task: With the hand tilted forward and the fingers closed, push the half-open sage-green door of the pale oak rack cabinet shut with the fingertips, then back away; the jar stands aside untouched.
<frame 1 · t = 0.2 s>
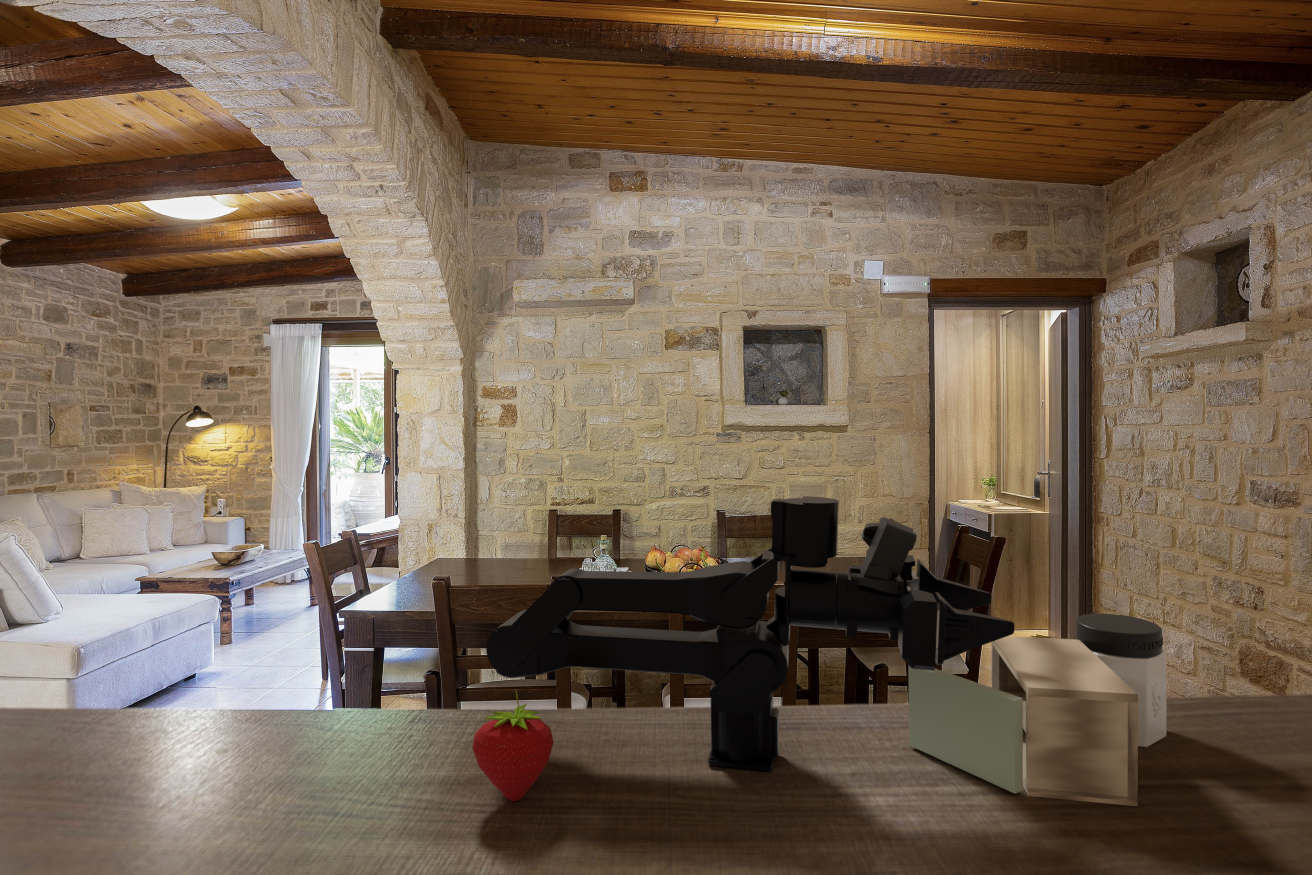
hand: (1001, 612, 71), 16 cm above the counter, tool horizontal, fingers open, 9 cm apart
strawberry: (514, 801, 69), on the counter
jar: (1117, 731, 81), on the counter
door: (961, 723, 73), point 5 cm above the counter, hinge at 45.0°
cabinet: (1018, 794, 68), on the counter
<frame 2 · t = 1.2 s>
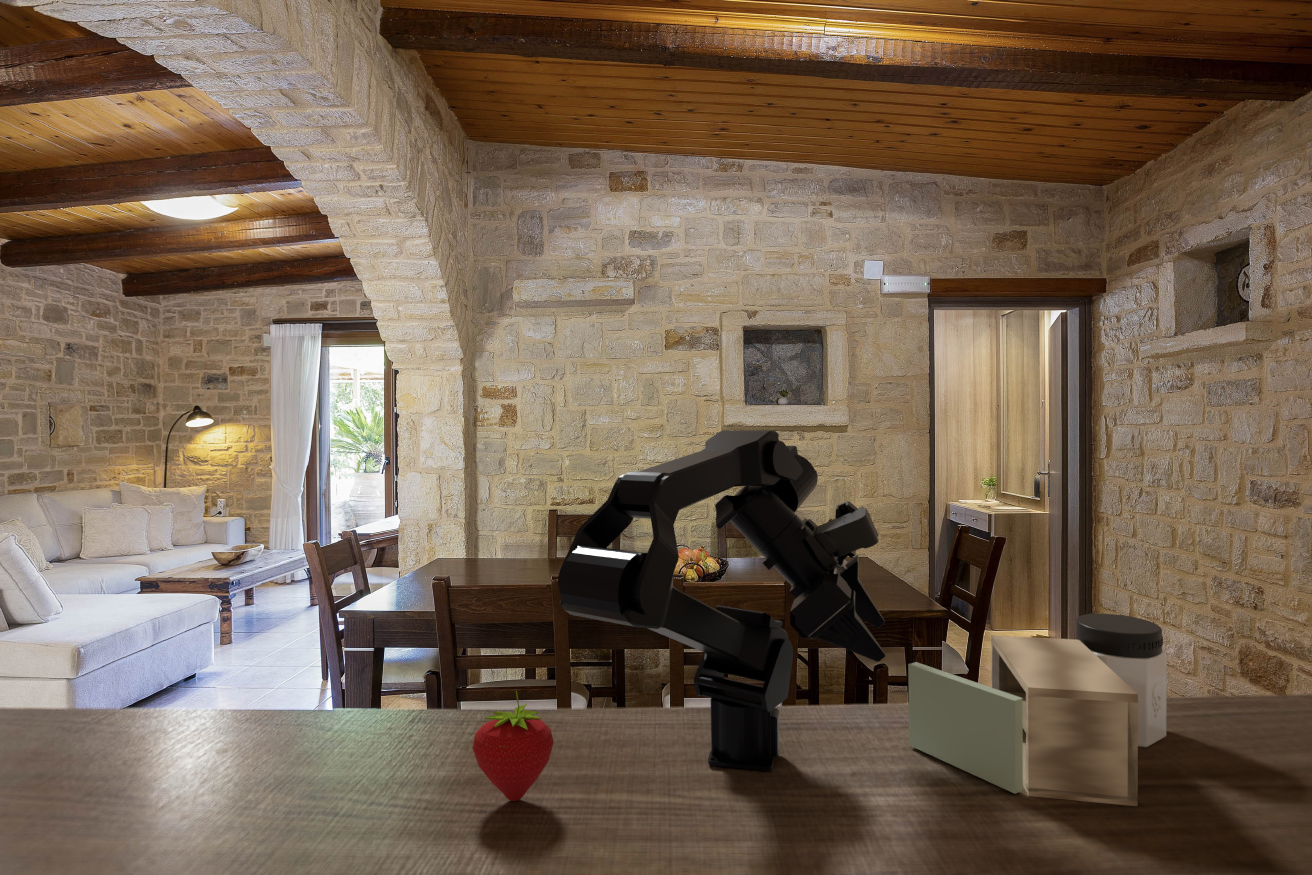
hand: (881, 640, 78), 12 cm above the counter, tool tilted 45°, fingers open, 9 cm apart
nothing on the counter moved.
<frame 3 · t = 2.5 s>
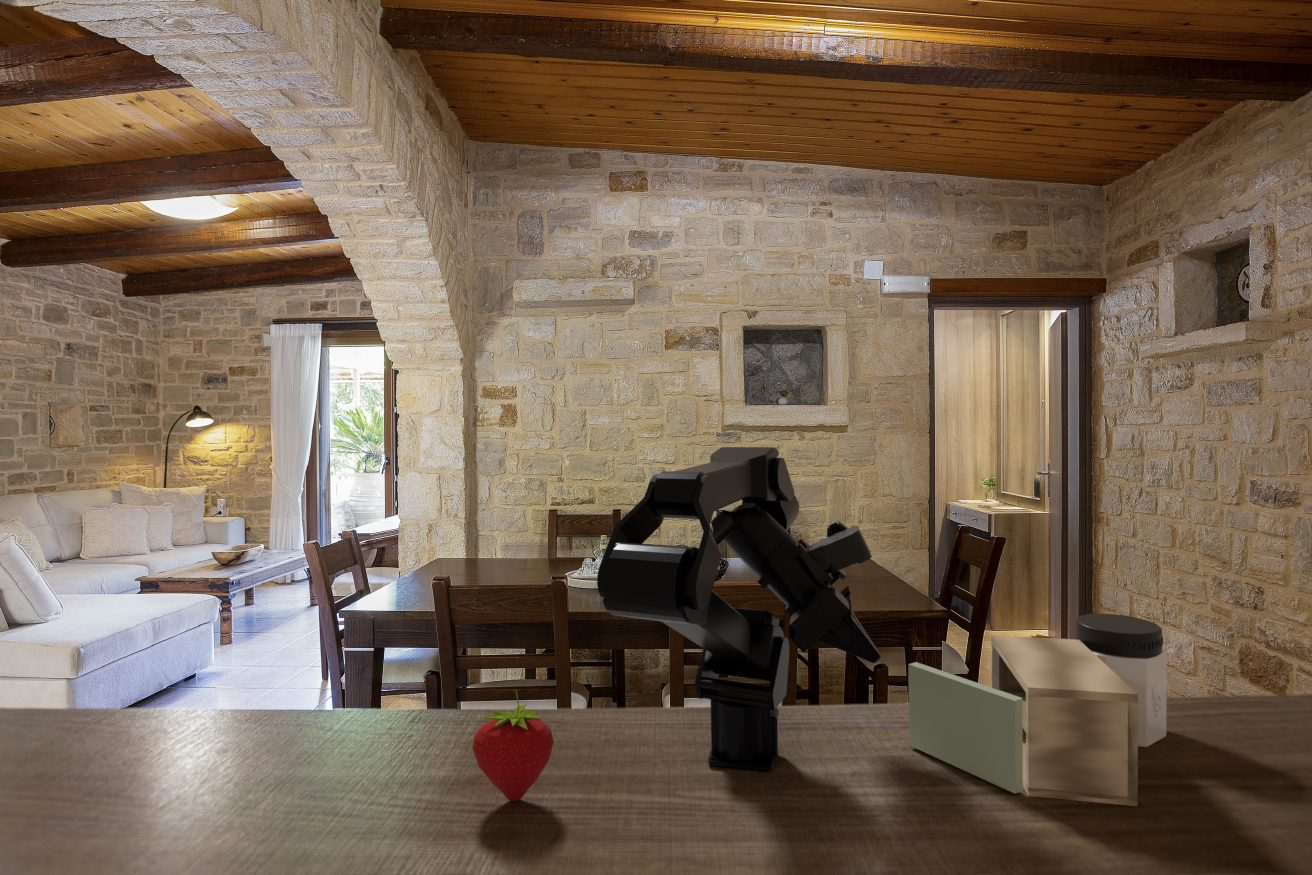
hand: (877, 659, 78), 10 cm above the counter, tool tilted 45°, fingers closed
nothing on the counter moved.
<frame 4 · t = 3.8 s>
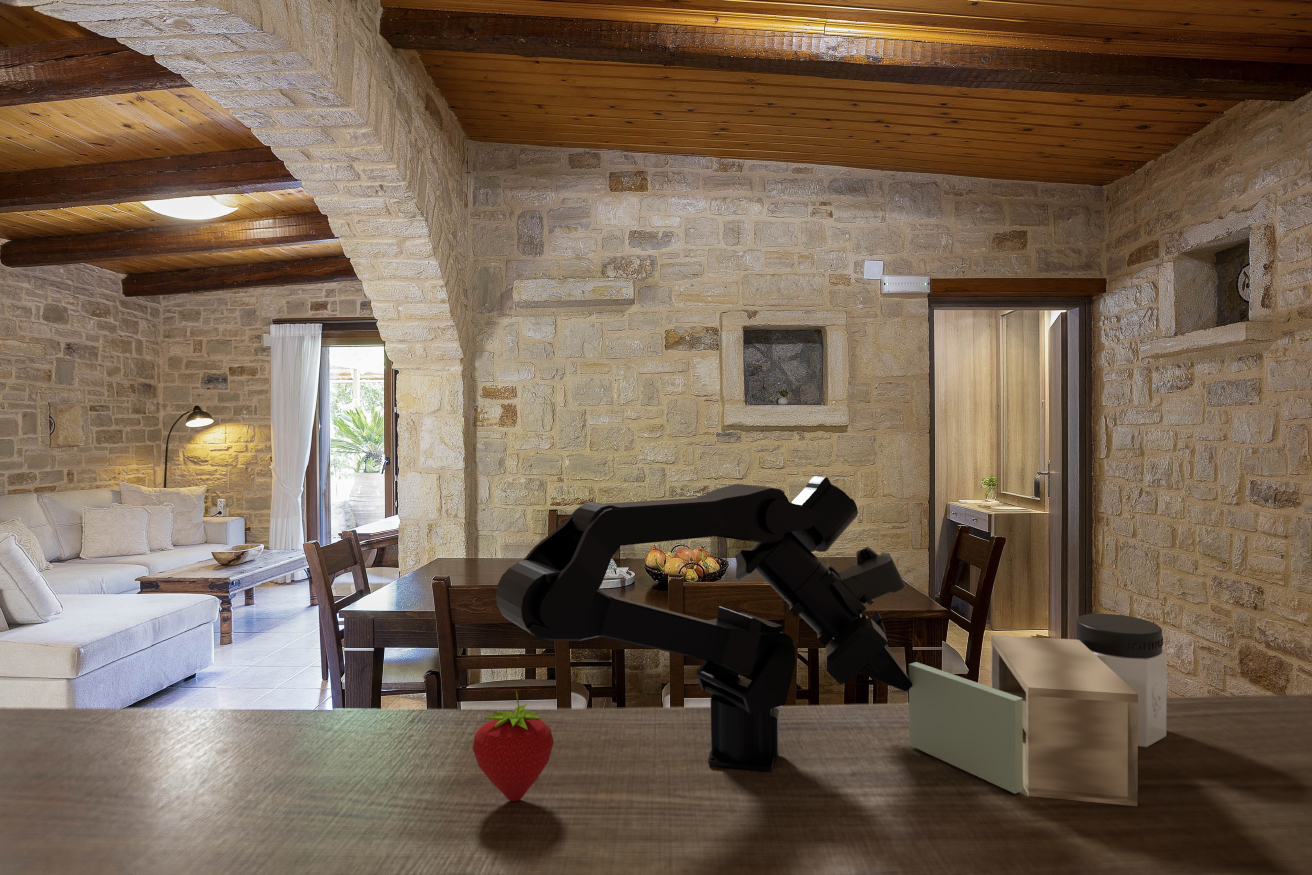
hand: (909, 687, 77), 7 cm above the counter, tool tilted 45°, fingers closed
door: (962, 722, 73), point 5 cm above the counter, hinge at 44.7°, touching gripper
everything else where it was.
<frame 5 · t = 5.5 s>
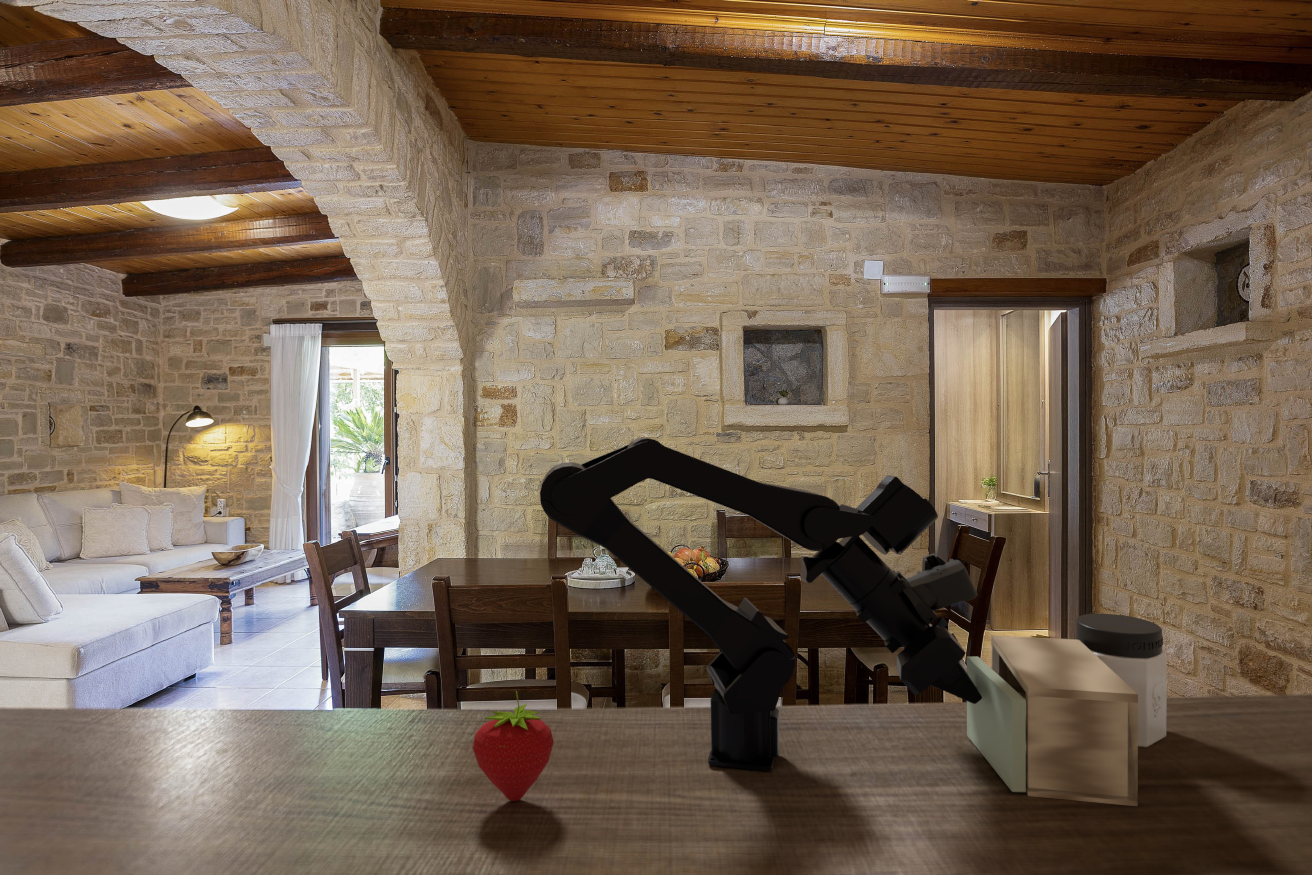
hand: (976, 697, 76), 6 cm above the counter, tool tilted 45°, fingers closed
door: (993, 718, 74), point 5 cm above the counter, hinge at 9.3°, touching gripper
everything else where it was.
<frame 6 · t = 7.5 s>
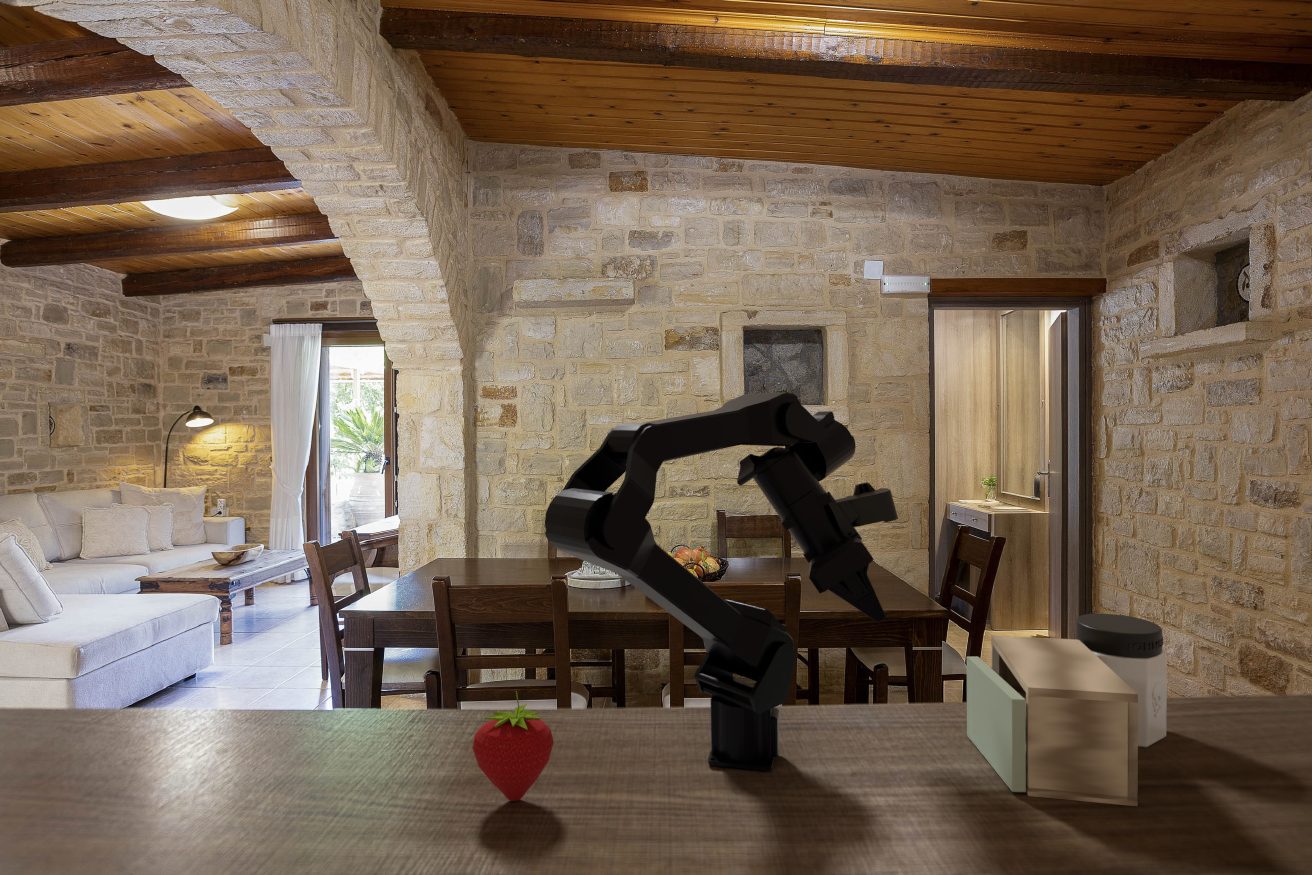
hand: (882, 619, 79), 14 cm above the counter, tool tilted 35°, fingers closed
door: (993, 718, 74), point 5 cm above the counter, hinge at 9.2°
everything else where it was.
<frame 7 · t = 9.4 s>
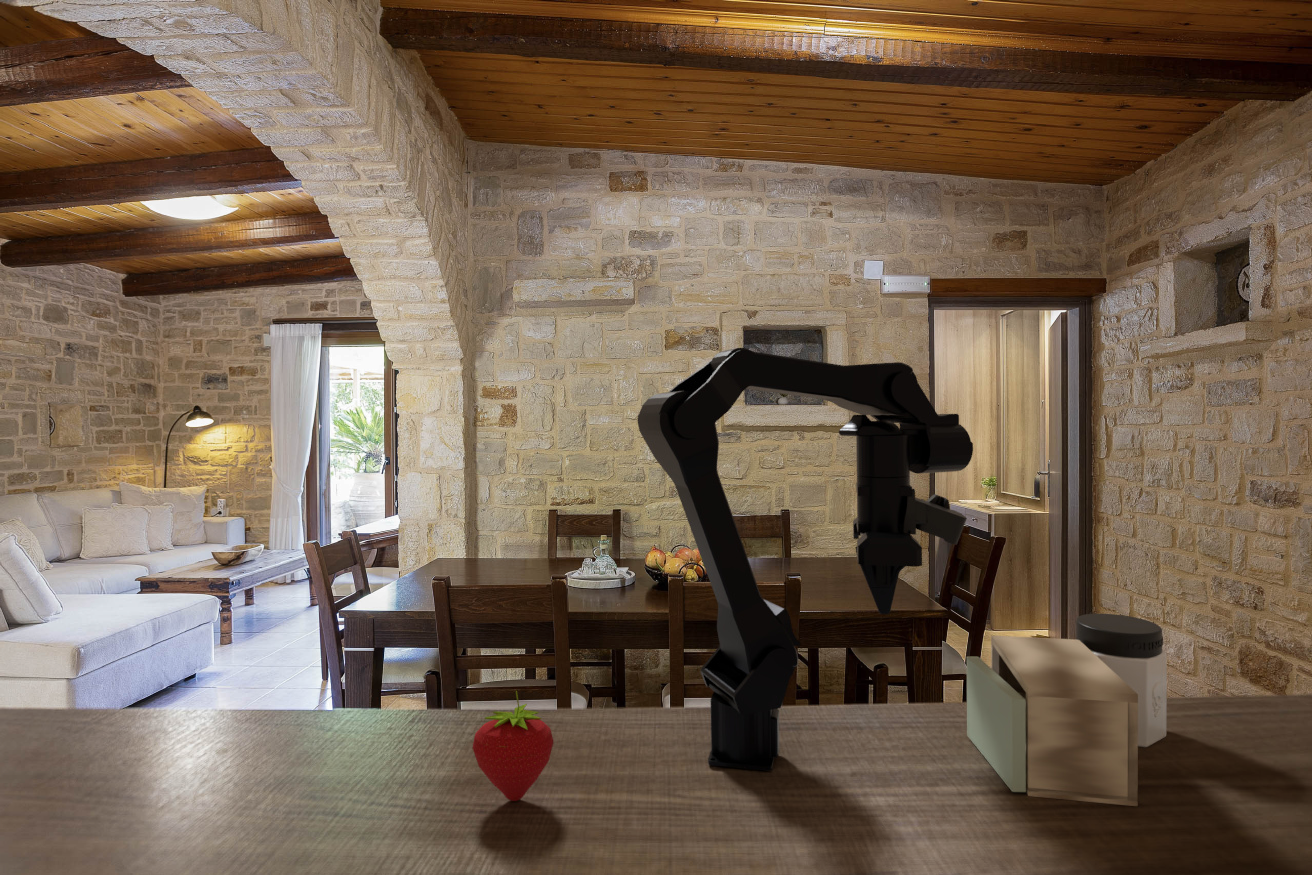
hand: (884, 613, 83), 13 cm above the counter, tool pointing down, fingers closed
nothing on the counter moved.
at the end: door at +9° (first picture: +45°) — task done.
